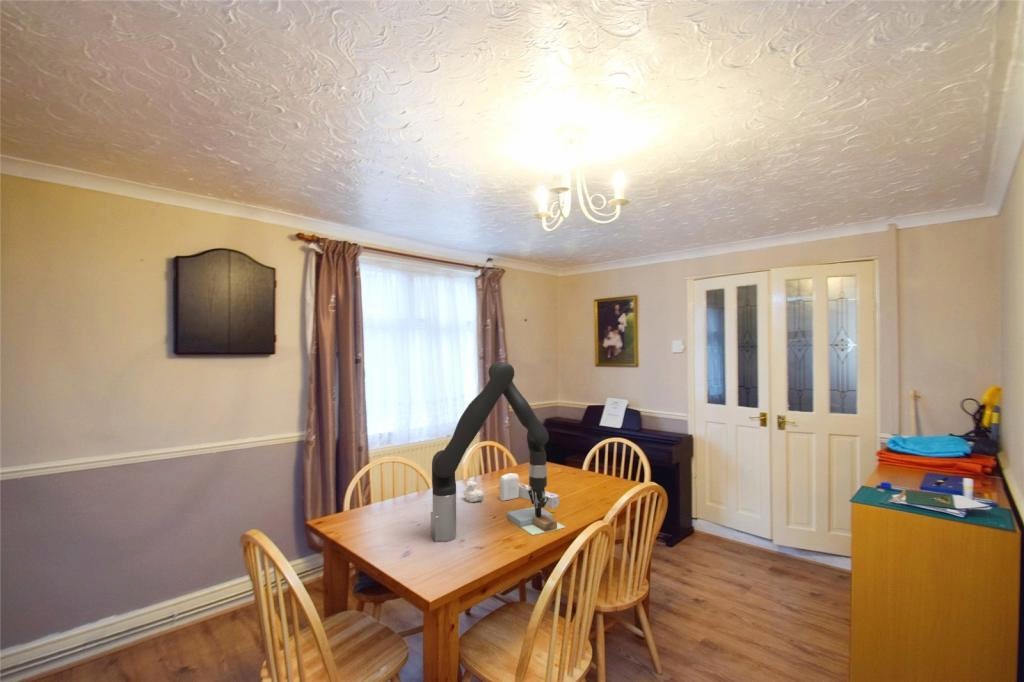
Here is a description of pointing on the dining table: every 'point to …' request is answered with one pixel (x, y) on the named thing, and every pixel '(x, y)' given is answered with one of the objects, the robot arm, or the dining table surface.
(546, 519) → the block
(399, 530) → the dining table surface
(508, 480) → the photo printer
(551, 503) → the box
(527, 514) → the pale blue flat slab
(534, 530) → the mat
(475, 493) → the bust
